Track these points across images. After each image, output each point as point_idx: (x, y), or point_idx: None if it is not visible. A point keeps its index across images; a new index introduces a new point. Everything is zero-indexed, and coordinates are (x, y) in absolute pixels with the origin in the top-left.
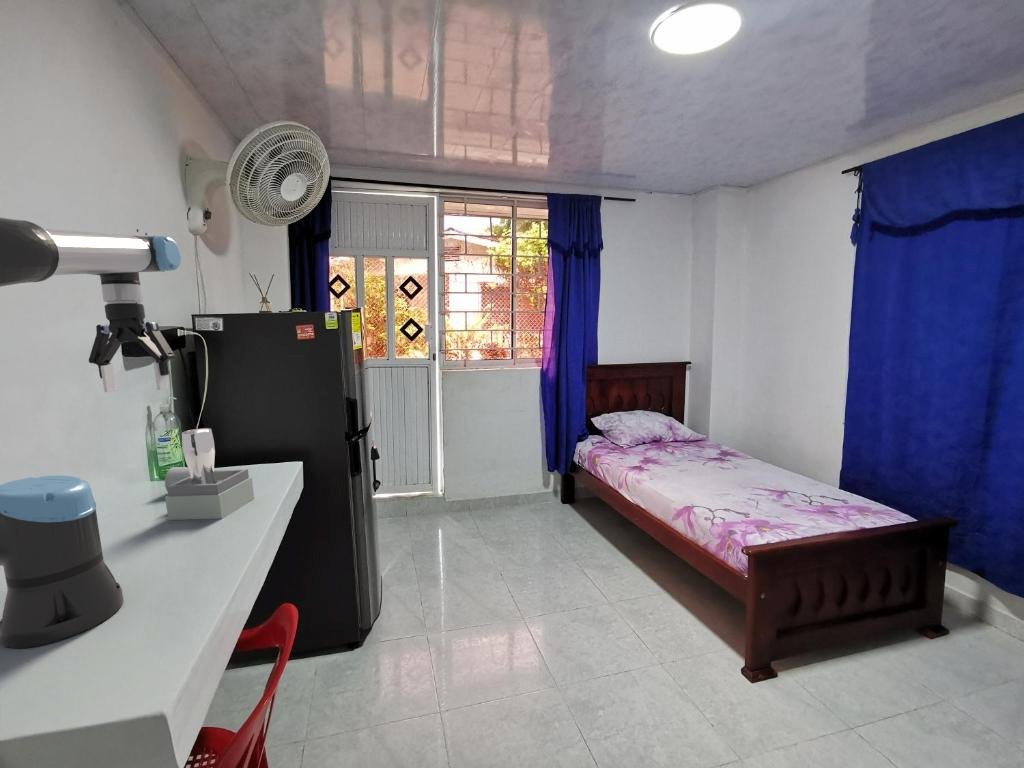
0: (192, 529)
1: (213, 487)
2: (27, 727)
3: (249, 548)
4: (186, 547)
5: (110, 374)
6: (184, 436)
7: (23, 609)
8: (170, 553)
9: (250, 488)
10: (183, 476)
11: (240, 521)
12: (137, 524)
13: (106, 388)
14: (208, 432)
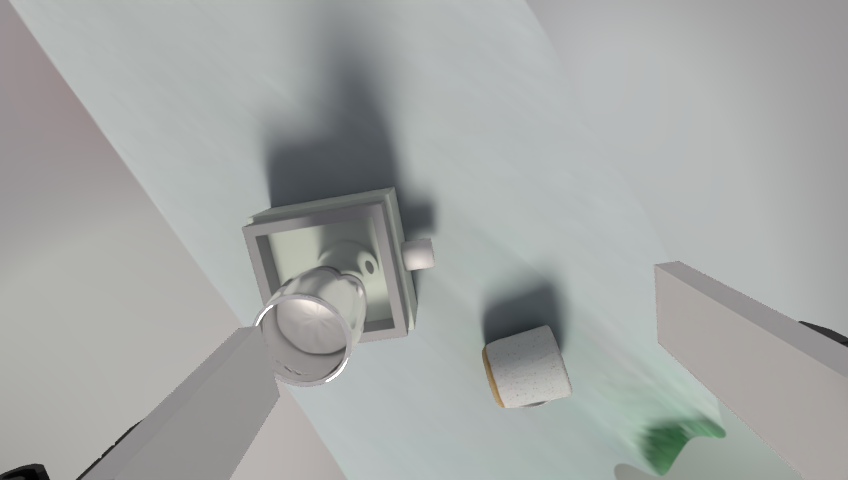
0: (284, 146)
1: (255, 224)
2: None
3: (69, 75)
4: (207, 60)
5: (749, 386)
6: (309, 291)
7: None
8: (214, 29)
9: None
10: (510, 355)
11: (213, 198)
12: (448, 155)
13: (674, 274)
14: None
